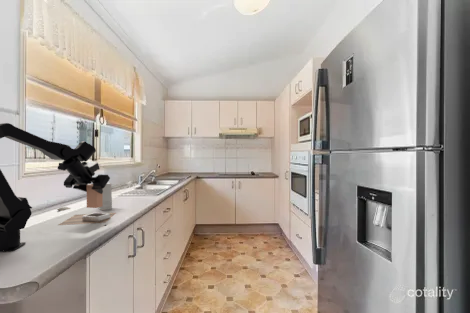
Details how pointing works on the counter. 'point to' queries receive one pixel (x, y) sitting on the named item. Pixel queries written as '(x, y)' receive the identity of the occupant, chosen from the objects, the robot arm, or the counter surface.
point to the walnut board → (78, 220)
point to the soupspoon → (63, 208)
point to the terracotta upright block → (93, 198)
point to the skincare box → (107, 197)
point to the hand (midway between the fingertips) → (96, 192)
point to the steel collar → (96, 217)
